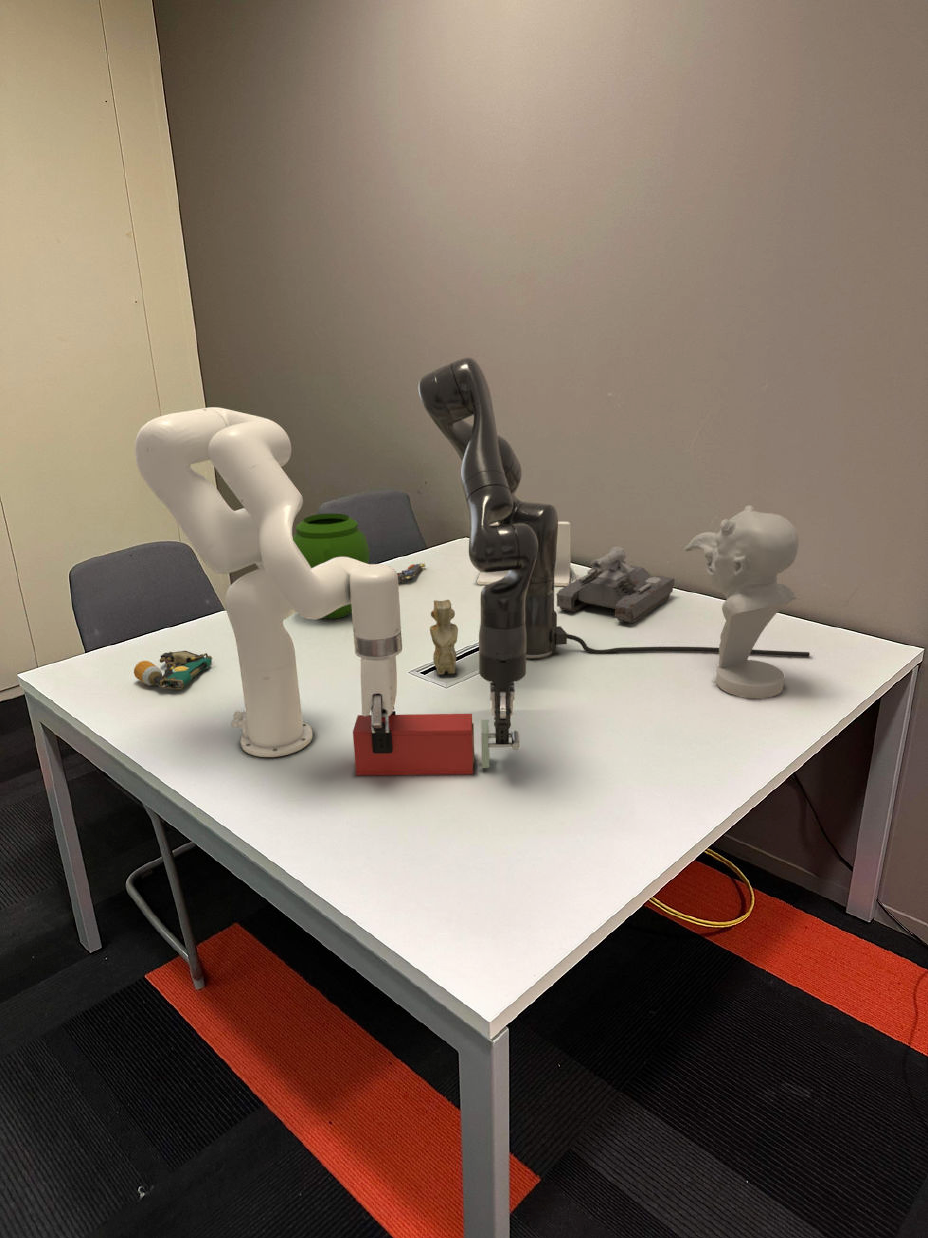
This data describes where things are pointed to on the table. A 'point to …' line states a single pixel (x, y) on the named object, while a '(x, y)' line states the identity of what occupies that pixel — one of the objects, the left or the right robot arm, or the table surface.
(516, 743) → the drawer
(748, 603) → the bust sculpture
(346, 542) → the vase
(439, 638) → the sculpture
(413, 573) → the toy gun
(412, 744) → the cabinet
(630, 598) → the toy
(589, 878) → the table surface
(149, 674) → the green toy blaster
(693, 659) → the table surface
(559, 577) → the tablet stand
